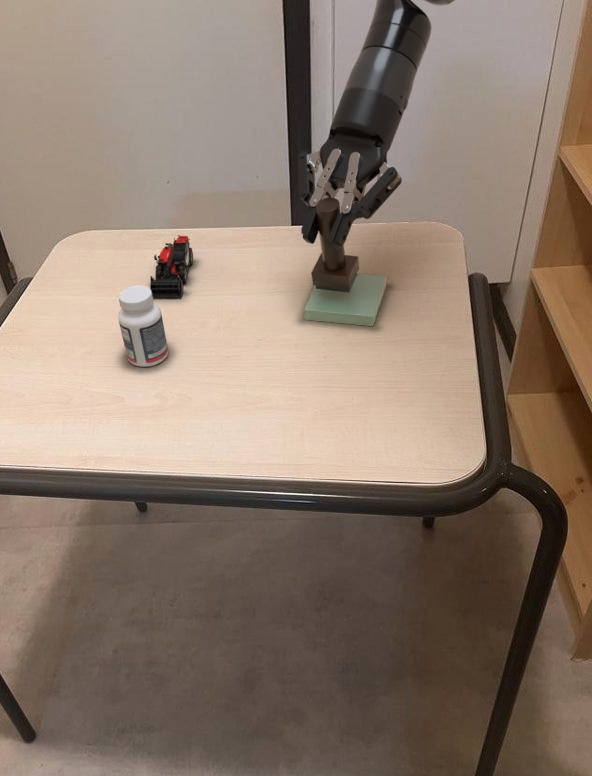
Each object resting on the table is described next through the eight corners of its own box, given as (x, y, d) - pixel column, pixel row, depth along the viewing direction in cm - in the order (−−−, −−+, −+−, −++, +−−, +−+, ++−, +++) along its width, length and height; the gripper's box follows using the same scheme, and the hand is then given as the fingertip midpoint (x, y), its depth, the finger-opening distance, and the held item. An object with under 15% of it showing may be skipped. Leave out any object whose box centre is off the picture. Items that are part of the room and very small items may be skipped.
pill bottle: (173, 344, 93) (162, 282, 86) (162, 368, 89) (151, 306, 83) (133, 342, 94) (120, 281, 87) (122, 367, 90) (107, 305, 84)
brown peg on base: (359, 273, 94) (353, 195, 85) (350, 294, 92) (342, 216, 83) (323, 269, 96) (313, 192, 87) (313, 289, 94) (301, 213, 85)
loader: (181, 299, 100) (177, 268, 97) (150, 299, 101) (144, 268, 98) (196, 256, 109) (192, 226, 105) (166, 256, 109) (162, 227, 106)
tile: (386, 286, 98) (386, 276, 97) (373, 326, 92) (373, 316, 91) (321, 280, 101) (321, 270, 100) (304, 319, 94) (303, 309, 93)
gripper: (310, 78, 85) (258, 221, 87) (420, 91, 78) (361, 245, 80) (332, 111, 91) (284, 243, 93) (436, 126, 85) (381, 267, 87)
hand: (320, 243), depth 87 cm, fingers closed on brown peg on base, 3 cm apart
